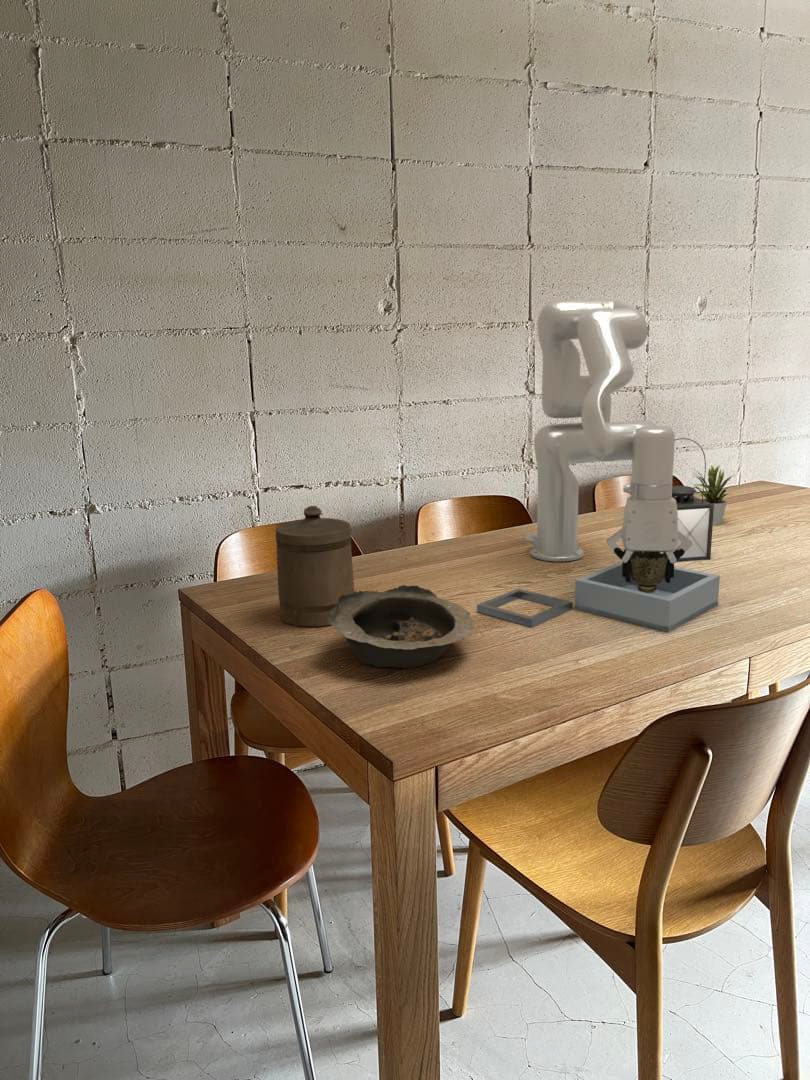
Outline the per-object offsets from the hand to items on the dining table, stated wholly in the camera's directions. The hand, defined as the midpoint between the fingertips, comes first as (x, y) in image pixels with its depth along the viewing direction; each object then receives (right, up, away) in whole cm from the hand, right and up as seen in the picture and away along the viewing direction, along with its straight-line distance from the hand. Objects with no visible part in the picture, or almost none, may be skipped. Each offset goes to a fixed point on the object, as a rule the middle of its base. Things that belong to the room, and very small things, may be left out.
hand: (647, 580), depth 165 cm
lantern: (+18, +4, +36) cm, 41 cm away
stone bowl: (-48, -12, -18) cm, 52 cm away
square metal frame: (-24, -6, +1) cm, 25 cm away
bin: (0, -5, +1) cm, 6 cm away
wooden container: (-65, -7, +3) cm, 65 cm away
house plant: (+36, +12, +66) cm, 76 cm away
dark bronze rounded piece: (0, -2, +1) cm, 3 cm away
